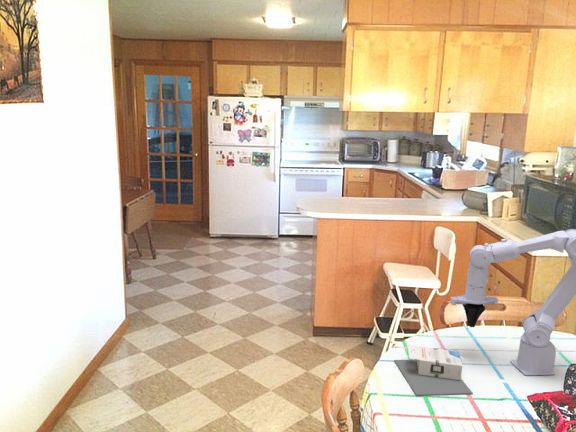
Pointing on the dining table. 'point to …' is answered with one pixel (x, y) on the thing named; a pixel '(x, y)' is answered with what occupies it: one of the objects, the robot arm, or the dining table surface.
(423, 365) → the ink box
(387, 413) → the dining table surface
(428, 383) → the rubber mat
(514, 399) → the dining table surface
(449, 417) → the dining table surface
